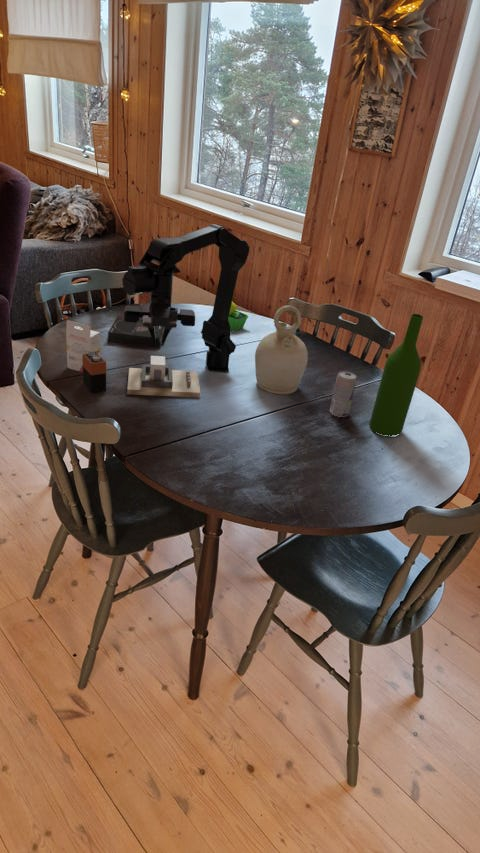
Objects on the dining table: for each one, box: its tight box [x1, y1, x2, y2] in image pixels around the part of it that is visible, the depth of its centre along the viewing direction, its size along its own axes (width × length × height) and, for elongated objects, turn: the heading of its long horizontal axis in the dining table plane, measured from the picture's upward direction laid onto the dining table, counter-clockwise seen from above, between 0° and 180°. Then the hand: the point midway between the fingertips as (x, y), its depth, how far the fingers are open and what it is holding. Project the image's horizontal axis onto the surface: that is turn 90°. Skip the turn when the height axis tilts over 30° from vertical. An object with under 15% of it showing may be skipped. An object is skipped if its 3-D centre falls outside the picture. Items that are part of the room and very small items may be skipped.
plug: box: [150, 355, 166, 380], centre depth 159 cm, size 4×7×6 cm, turn 7°
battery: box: [82, 351, 107, 395], centre depth 153 cm, size 4×7×10 cm, turn 34°
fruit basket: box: [228, 301, 249, 331], centre depth 208 cm, size 11×9×11 cm
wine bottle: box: [368, 313, 424, 436], centre depth 146 cm, size 9×9×32 cm
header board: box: [126, 364, 201, 398], centre depth 161 cm, size 20×14×4 cm
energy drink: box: [329, 370, 358, 418], centre depth 156 cm, size 5×5×12 cm
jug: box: [254, 304, 309, 396], centre depth 164 cm, size 15×16×25 cm
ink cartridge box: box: [65, 319, 101, 373], centre depth 161 cm, size 9×5×15 cm, turn 68°
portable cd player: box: [107, 315, 164, 349], centre depth 191 cm, size 16×17×4 cm
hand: (158, 345), depth 156 cm, fingers closed
